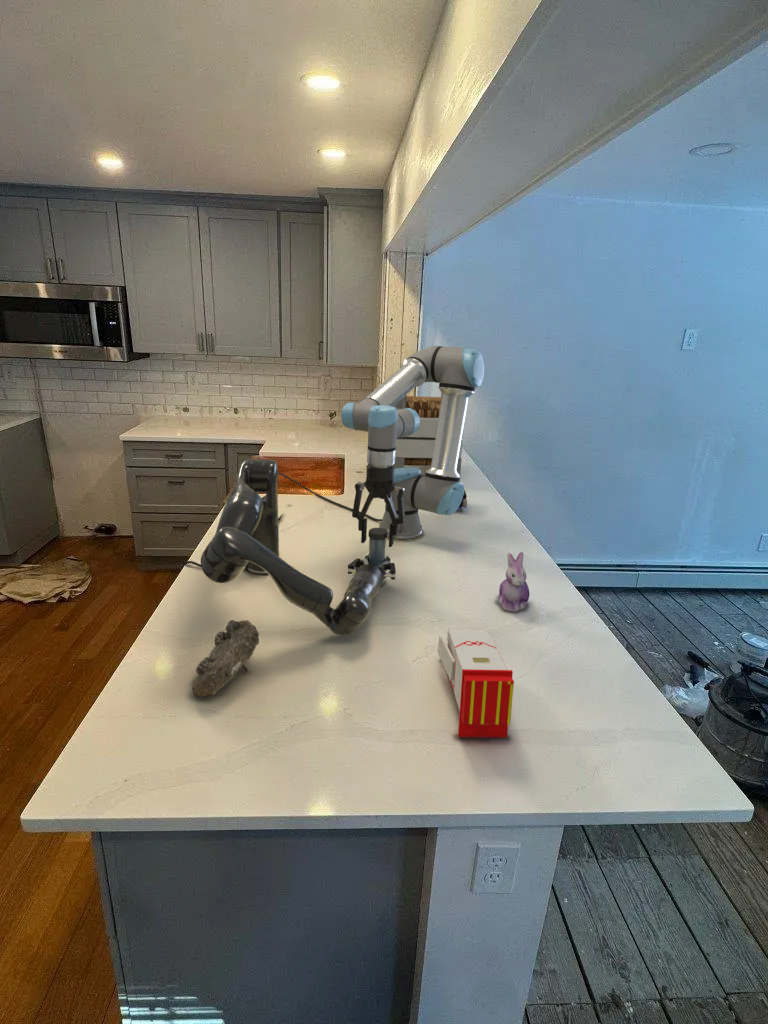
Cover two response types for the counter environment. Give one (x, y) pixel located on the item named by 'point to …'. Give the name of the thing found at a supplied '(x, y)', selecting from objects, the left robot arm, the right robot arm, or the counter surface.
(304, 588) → the left robot arm
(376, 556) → the jar
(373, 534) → the lid
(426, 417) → the white wooden crate
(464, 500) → the figurine character
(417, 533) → the right robot arm
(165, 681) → the counter surface
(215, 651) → the fossil
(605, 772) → the counter surface
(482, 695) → the toy
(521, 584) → the figurine
